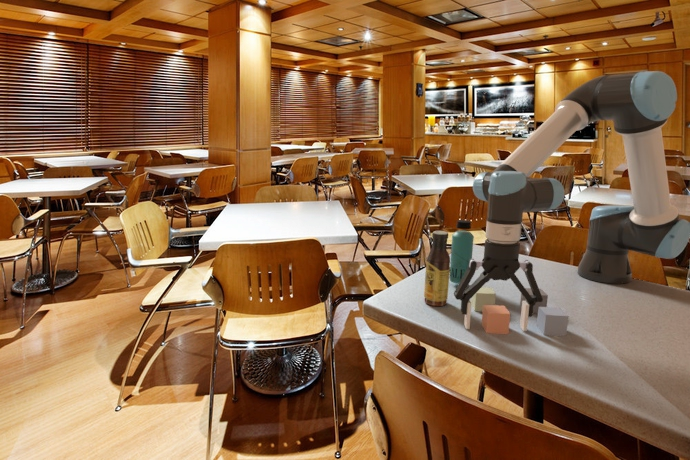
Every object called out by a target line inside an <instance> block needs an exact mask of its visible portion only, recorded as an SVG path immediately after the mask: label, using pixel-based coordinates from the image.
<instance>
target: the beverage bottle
mask: <svg viewBox="0 0 690 460" xmlns="http://www.w3.org/2000/svg"><path fill="white" fill-rule="evenodd" d="M455 227H456V229H459V230H456V231H455V232H454V233H452V238H451V247H450V255H449V256H450V273H449V281H450V282H451V283H454V284H458V285H459V283H460V281H461V279H462V278H463V276H464V274H465V272H466V271H467V269H468V266H469V260H470V259H473V248H474V237H475V236H474V235H473V233H472V232H470V231H468V230H470V229H471V228H472V223H471V221H470V220H467V219H466V220H465V219H460V220H459V219H458V220H457V221H456V226H455ZM470 283H471V281H470V282H469V284H470Z"/></svg>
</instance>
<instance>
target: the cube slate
mask: <svg viewBox="0 0 690 460" xmlns="http://www.w3.org/2000/svg"><path fill="white" fill-rule="evenodd" d="M569 318H570V317H569V315H568V314H567V313H566V312H565V311H564V310H563V309H562V307H559V306H558V307H557V306H556V307H553V306H547V307H539V308H538V313H537V320H536V328H538V330H539V331H540V332H541V334H542V335H543V336H557V337H559V336H560V337H566V336H567V332H568V326H569V325H568V324H569Z"/></svg>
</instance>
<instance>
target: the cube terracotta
mask: <svg viewBox="0 0 690 460" xmlns="http://www.w3.org/2000/svg"><path fill="white" fill-rule="evenodd" d="M481 313H482V316H481V325H482V327H483V329H484V331H485V333H486V334H498V335H499V334H504V335H505V334H506V335H509V331H510V320H511V313H510V311H509V310H508V308H507V307H506V306H505V305H497V304H495V305H483V311H482V312H481Z"/></svg>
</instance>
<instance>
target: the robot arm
mask: <svg viewBox="0 0 690 460" xmlns="http://www.w3.org/2000/svg"><path fill="white" fill-rule="evenodd" d="M677 101H678V92H677V87H676V84H675V82H674V80H673V78H672V77H671V76H670V75H669V74H667V73H665V71H664V72H663V71H661V70H655V71H650V70H641V71H636V72H626V73H619V74H607V75H606V74H605V75H600V76H596V77H595V78H592V79H589V80H587V81H586V82H584V83H582V84H580V85H579V86H577V87H576V88H575V89H573V90H572V91H570V92H569V93H567V95H566V96H565V97H563V98H562V99H561V100H560V101H559V102H558V103H557V104H556V105H555V107H554V112H553V113H552V114H551V115H549V117H548V118H546V120H545V121H543V123H542V124H541V125H539V126H538V127H537V128H536V130H534V131H533V132H532V133H531V134H530V135H529V136H528V137H527V138H526V139H525V140H524V141H523V142H522V143H521V144H519V146H517V148H516V149H514V150H513V151H512V153H511V154H510V155H508V157H506V158H505V159H504V160H503V161H502V162H501V163H500V164H499V165H498V166H497V167H496V168H495V169H493V171H484V172H480V173H478V174H477V175H476V177H475V178H474V180H473V184H472V191H473V195H474V196H475V197H476V198H477V199H478V200H481V201H484V202H487V216H486V228H485V238H486V239H485V240H484V251H483V258H482V260H475V259H474V258H472V259H470V260H469V266H468V269H467V271H466V272H465V274H464V276H463V278H462V279H461V281H460V283H459V284H458V285H457V286H456V288H455V289H454V292H453V295H454V297H455V299H456V300H459V301H461V302H460V311H461V314H462V315H464V320H463V324H464V327H465V329H466V330H470V325H471V313H472V312H471V311H472V305H471V298H472V297H473V296H474V294H475V293H476V292H477V291H478V290H479V289H480V288H481V287H484V286H485V284H486V283H489V282H490V280H493V281H500V280H501V281H508V280H511V281H512V283H513V284H514V285H515V286H516V288H517V289H518V290H519V292H520V294H521V293H522V295H523V296H524V297H525V299H526V301H522V307H521V310H520V311H521V312H520V321H519V322H520V323H519V327H520V329H521V330H522V331H523V332H527V331H528V323H529V322H528V320H529V318H532V316H533V314H534V313H533V306H534V305H535V304H536V302H542V301H543V298H542V296H541V293H540V290H539V289H540V288H539V286H538V283H537V280H536V278H535V275H534V273H533V266H534V265H533V264H532V262H531V261H529V260H528V259H525V260H523V261H519V258H520V248H521V247H520V246H521V243H520V242H519V241H520V240H521V236H522V224H523V218H524V217H523V215H524V214H525V213H533V212H547V211H551V210H554V209H556V208H558V207H560V206H561V205H562V203H563V202H564V199H565V188H564V186H563V184H562V182H561V181H559V180H558V179H556V178H553V177H551V178H550V177H542V178H539V177H530V176H532V175H533V173H535V172H536V171H537V170H538V169H539V168H540V167H541V166H542V165H543V164H544V163H545V162H546V161H547V160H548V159H549V158H550V157H551V156H552V155H553V154H554V153H555V152H556V151H557V150H558V149H559V148H560V147H561V146H562V145H563V144H564V143H565V142H566V141H567V140H568V139H570V137H571V136H572V135H573V134H575V132H576V131H581V130H583V129H585V128H586V127H587V126H588V125H589V124H590V123H594V122H599V121H612V124H613V129H614V130H613V131H614V132H615V133H616V134H618V135H620V136H622V142H623V146H624V147H623V148H624V153H625V154H624V155H625V161H626V166H627V171H628V172H627V173H628V178H629V184H630V191H631V196H632V203H633V205H628V204H625V205H624V204H615V205H614V204H613V205H598V206H595V207H593V209H592V210H591V214H590V218H589V226H588V235H587V242H586V244H587V245H586V250H585V253H584V254H583V256H582V258H581V260H580V262H579V264H578V266H577V275H579V276H580V277H581V278H584V279H587V280H590V281H594V282H599V283H604V284H612V285H613V284H615V285H616V284H617V285H618V284H619V285H621V284H628V283H630V282H632V275H633V274H632V273H633V272H632V269H631V264H630V260H629V251H631V252H635V253H638V254H642V255H648V256H651V257H655V258H661V259H666V260H667V259H668V260H673V259H674V258H676V257H678V256H679V255H680V254H681V253H682V252H683V251H684V250H685V248H686V246H687V245H688V242H689V241H690V221H689V220H686V219H685V218H680V213H679V208H677V206H676V205H673V204H672V203H671V196H670V186H669V185H670V184H669V178H668V171H667V164H666V162H667V161H666V155H665V147H664V138H663V132H662V131H663V130H662V128H663V127H664V126H665V125H666V124H667V122H668V119H669V117H670V116H671V115H672V114H673V112H674V111H675V109H676V107H677V105H676V102H677ZM480 267H482V269H483V270H482V272H481V273H480V274H479V276H478V277H477V278H476V279H475V280H474V281H473V283H472V284H471V285H470V286H469V284H470V283H471V281H472V279H473V277H474V275H475V274H476V271H477V270H479V269H480ZM519 269H521V270H522V271H523V272H524V275H525V277H526V280H527V282H528V284H529V288H531V290H532V293H533V296H530V294H529V293H528V292H527V290H526V289H525V288H526V287H525V286H524V285H523V283H522V282H521V281H520V280H519V278H518V277H517V275H516V274H515V273H516V272H517V271H518V270H519ZM469 282H470V283H469ZM468 286H469V287H468ZM467 287H468V288H467Z"/></svg>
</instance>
